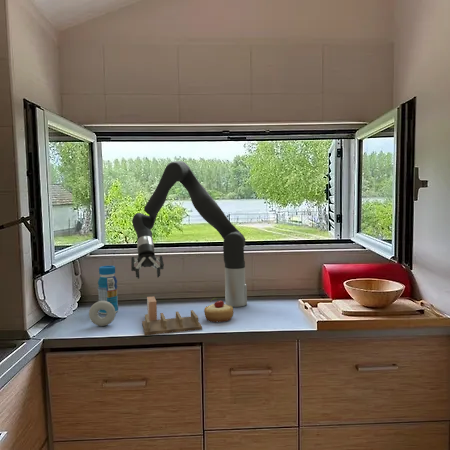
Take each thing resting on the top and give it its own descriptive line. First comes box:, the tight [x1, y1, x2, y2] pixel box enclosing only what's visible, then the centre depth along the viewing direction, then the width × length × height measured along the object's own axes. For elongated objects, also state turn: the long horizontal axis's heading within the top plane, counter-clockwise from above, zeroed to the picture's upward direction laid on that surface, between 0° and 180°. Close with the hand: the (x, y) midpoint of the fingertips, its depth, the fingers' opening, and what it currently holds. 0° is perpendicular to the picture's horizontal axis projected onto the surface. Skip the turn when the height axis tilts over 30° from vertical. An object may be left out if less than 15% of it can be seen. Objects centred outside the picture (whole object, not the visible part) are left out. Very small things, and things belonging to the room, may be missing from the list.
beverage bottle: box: [97, 265, 119, 315], centre depth 179 cm, size 8×8×20 cm
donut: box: [88, 300, 117, 327], centre depth 159 cm, size 10×3×10 cm, turn 99°
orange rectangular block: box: [146, 296, 158, 320], centre depth 169 cm, size 3×9×8 cm, turn 15°
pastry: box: [203, 297, 234, 323], centre depth 165 cm, size 12×12×9 cm
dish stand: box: [141, 309, 203, 336], centre depth 157 cm, size 21×14×4 cm, turn 105°
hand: (148, 276), depth 180 cm, fingers open, 8 cm apart
